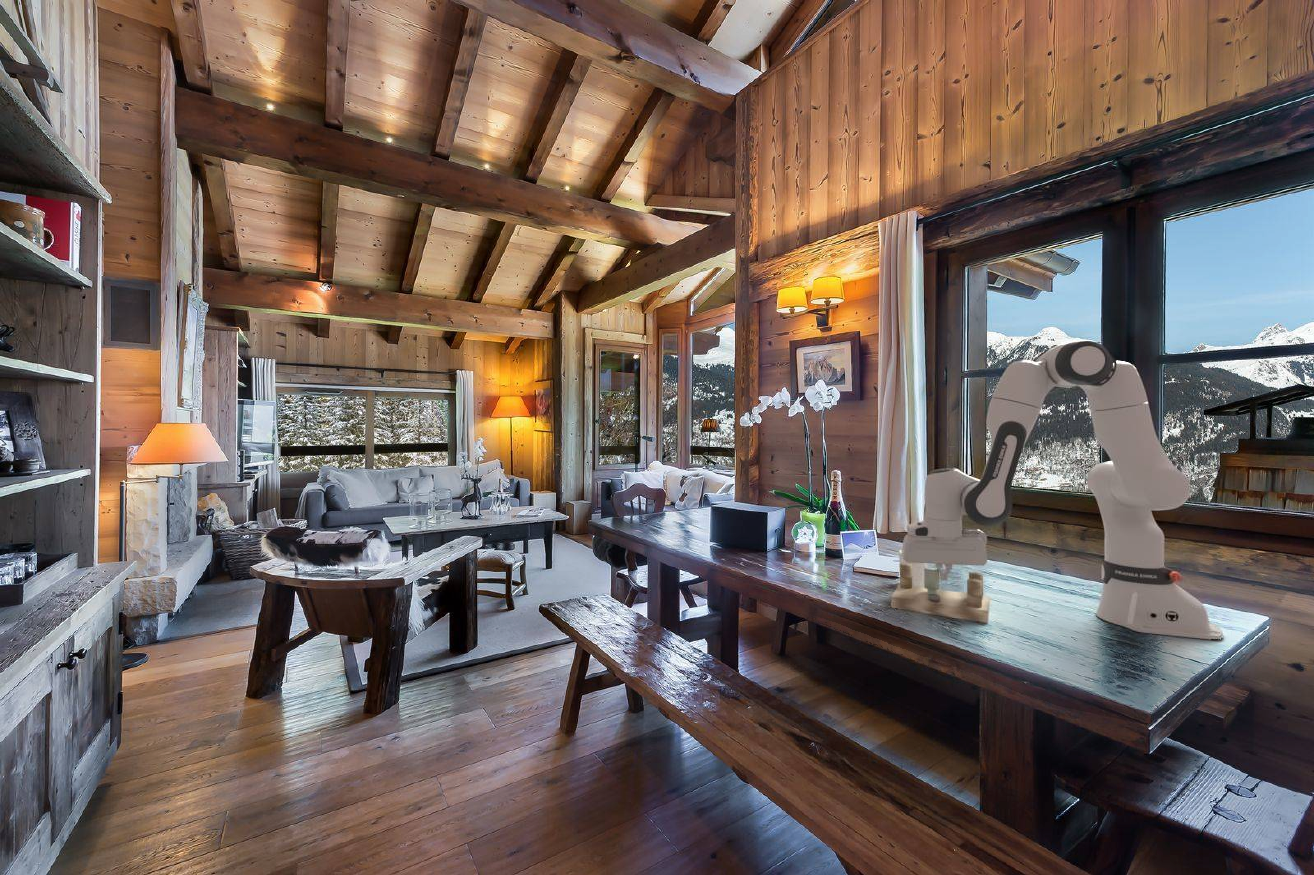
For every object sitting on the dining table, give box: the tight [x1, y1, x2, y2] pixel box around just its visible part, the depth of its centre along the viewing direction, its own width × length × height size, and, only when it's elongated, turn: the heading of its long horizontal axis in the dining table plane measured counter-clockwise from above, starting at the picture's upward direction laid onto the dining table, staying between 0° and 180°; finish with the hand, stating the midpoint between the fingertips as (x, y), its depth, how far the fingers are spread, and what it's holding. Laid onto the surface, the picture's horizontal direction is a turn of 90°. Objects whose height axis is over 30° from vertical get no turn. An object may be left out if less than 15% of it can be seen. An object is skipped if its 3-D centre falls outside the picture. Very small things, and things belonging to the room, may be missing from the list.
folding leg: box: [924, 567, 940, 601], centre depth 146 cm, size 10×4×6 cm, turn 159°
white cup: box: [898, 549, 928, 587], centre depth 167 cm, size 8×8×10 cm
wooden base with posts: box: [890, 563, 991, 624], centre depth 146 cm, size 22×14×9 cm, turn 58°
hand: (943, 580), depth 148 cm, fingers closed
